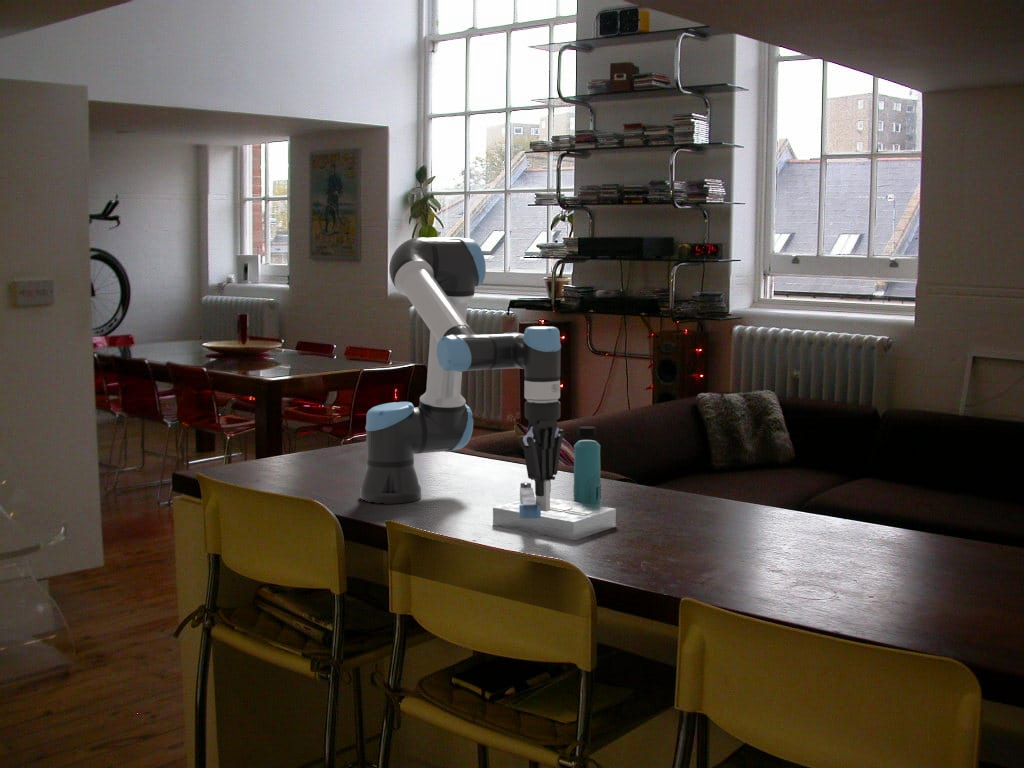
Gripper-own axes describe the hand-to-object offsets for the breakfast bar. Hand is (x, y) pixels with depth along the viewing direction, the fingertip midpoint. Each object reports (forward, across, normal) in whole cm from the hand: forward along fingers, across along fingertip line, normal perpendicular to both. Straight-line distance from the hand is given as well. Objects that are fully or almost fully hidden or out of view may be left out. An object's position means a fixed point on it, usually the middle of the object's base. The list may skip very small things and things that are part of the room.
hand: (543, 510), depth 233 cm
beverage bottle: (+6, +26, +7) cm, 28 cm away
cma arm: (+1, +1, +5) cm, 5 cm away
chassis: (+6, +9, +4) cm, 12 cm away
